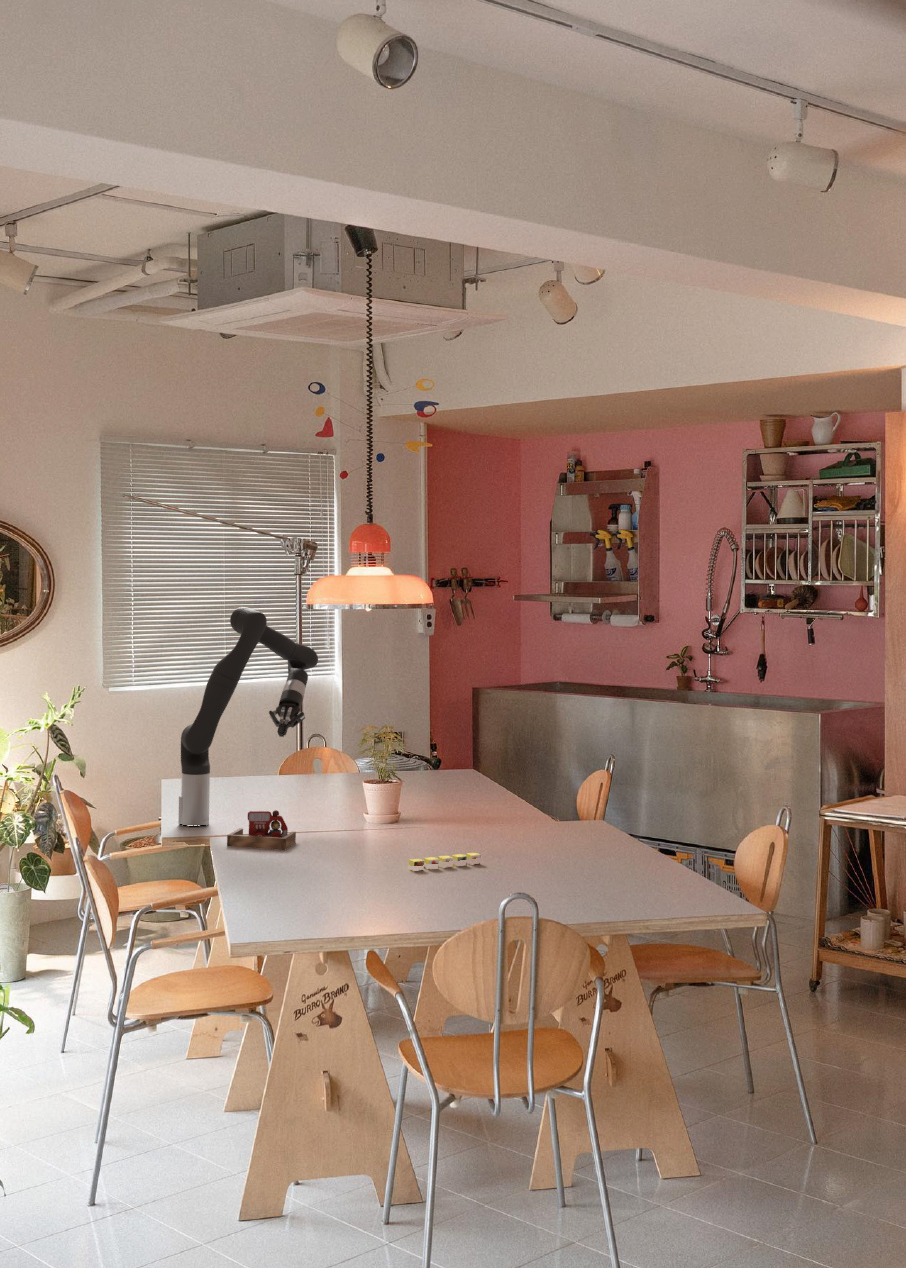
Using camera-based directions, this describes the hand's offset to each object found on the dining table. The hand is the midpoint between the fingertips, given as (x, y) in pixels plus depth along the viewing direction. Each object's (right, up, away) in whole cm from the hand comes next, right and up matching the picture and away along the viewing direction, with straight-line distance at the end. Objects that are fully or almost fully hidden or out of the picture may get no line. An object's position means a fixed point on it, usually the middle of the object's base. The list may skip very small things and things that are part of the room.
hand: (281, 735), depth 430 cm
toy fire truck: (0, -32, -31) cm, 44 cm away
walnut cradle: (-1, -31, -32) cm, 45 cm away
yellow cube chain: (+57, -35, -58) cm, 88 cm away
